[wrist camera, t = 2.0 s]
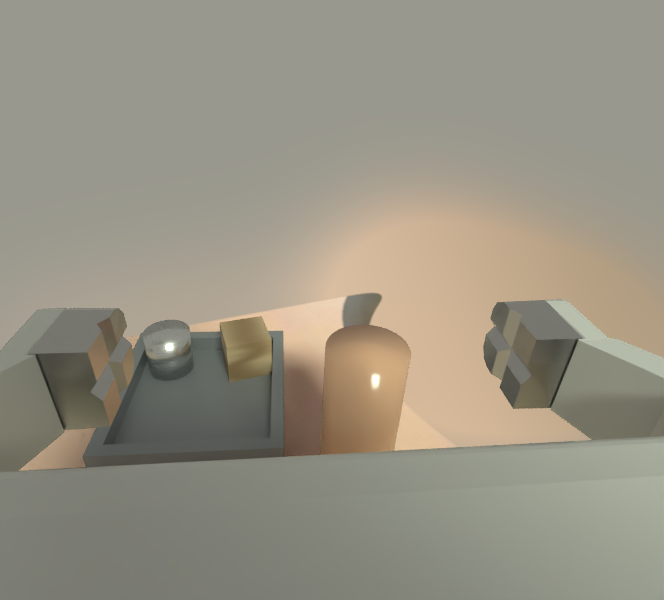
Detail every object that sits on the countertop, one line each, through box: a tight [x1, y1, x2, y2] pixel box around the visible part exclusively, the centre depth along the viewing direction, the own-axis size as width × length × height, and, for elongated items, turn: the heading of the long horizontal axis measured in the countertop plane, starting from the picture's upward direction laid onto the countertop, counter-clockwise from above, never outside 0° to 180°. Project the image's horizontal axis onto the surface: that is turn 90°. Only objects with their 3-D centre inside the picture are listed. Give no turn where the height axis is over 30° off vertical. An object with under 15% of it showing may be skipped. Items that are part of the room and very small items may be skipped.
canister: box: [320, 325, 411, 455], centre depth 29 cm, size 5×5×13 cm
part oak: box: [220, 316, 272, 382], centre depth 41 cm, size 4×4×4 cm
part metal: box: [142, 320, 194, 381], centre depth 41 cm, size 4×4×4 cm
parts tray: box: [83, 331, 284, 467], centre depth 38 cm, size 14×15×2 cm
